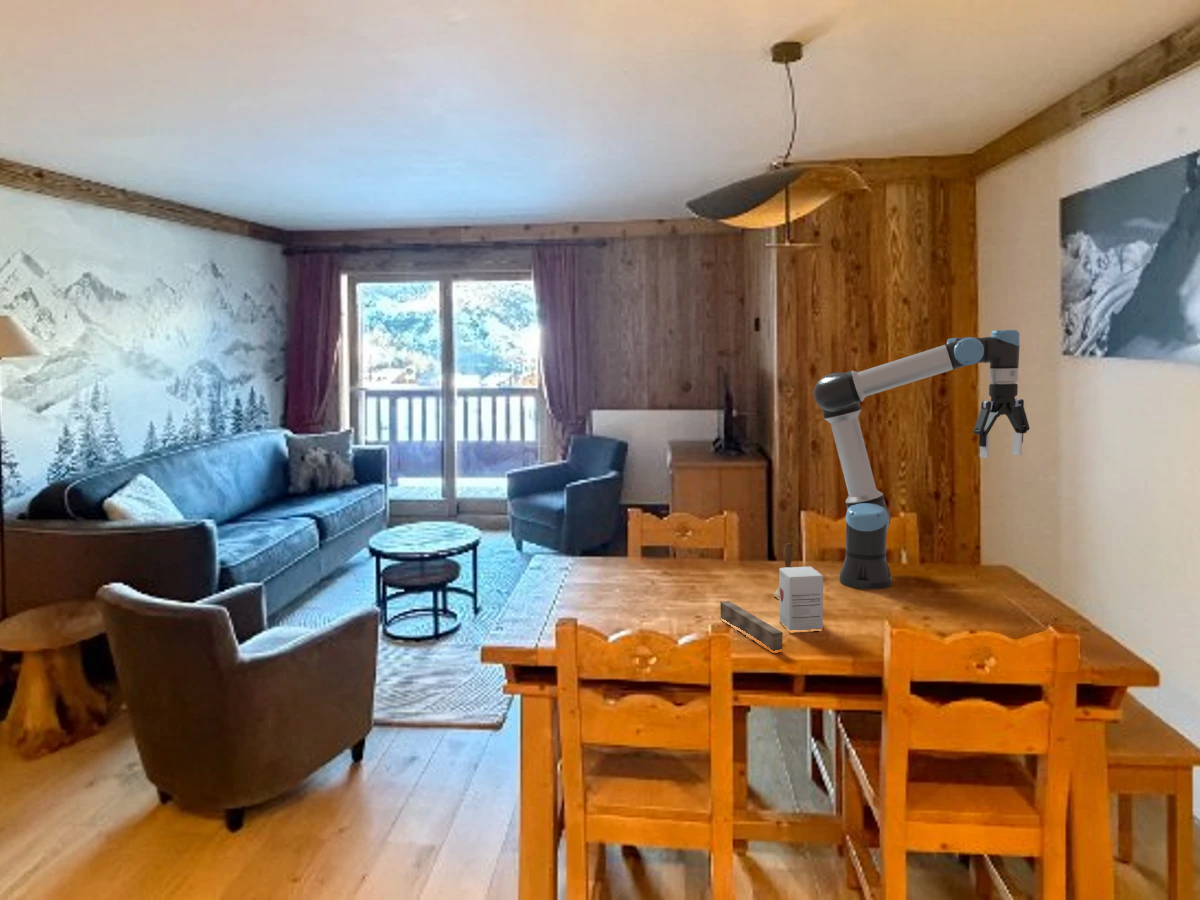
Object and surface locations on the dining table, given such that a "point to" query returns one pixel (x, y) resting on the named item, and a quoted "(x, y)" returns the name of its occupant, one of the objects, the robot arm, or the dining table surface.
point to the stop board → (752, 625)
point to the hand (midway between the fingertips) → (1000, 456)
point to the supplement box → (801, 598)
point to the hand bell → (786, 561)
